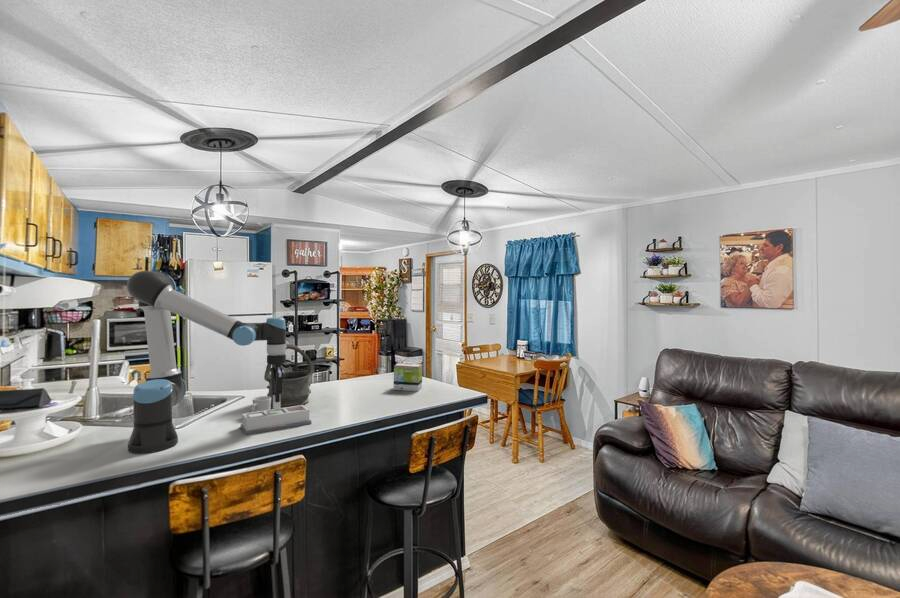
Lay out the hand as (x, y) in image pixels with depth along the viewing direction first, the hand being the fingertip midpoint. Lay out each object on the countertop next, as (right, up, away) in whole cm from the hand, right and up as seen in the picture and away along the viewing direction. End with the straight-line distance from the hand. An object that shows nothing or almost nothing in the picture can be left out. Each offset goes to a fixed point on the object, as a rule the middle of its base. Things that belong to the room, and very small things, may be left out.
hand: (276, 409), depth 181 cm
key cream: (-7, -3, -5) cm, 9 cm away
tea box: (+49, -6, +69) cm, 85 cm away
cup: (-13, -7, +13) cm, 20 cm away
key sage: (0, -3, 0) cm, 3 cm away
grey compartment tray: (0, -7, 0) cm, 7 cm away
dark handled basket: (-8, -7, +36) cm, 37 cm away
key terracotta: (+6, -5, +5) cm, 9 cm away
